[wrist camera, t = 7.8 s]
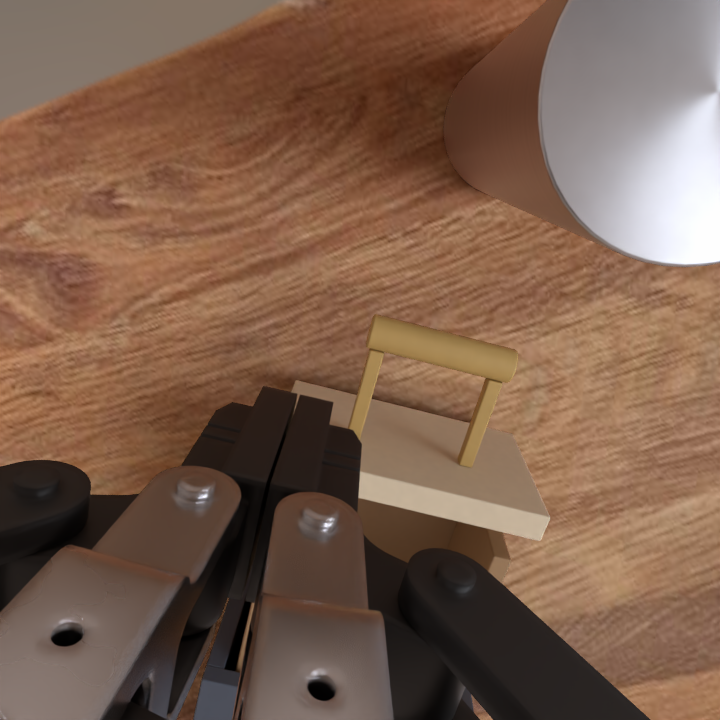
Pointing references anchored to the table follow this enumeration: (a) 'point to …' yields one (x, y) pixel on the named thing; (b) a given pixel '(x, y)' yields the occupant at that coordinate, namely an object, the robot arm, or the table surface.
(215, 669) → the cabinet
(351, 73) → the table surface
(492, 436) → the drawer
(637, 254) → the cylinder
